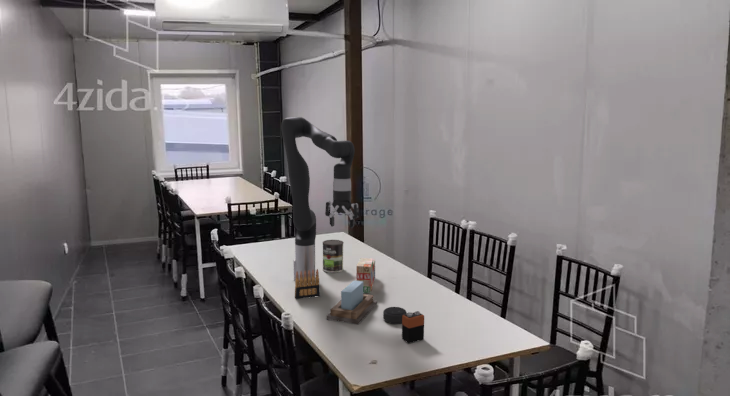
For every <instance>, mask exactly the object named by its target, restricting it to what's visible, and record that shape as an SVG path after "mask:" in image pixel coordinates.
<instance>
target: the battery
mask: <svg viewBox="0 0 730 396" xmlns="http://www.w3.org/2000/svg"><path fill="white" fill-rule="evenodd" d="M401 326H402V327H401V340H403V341H404V342H406V343H407V344H412V343H415V342H419V341H423V340H424V339H425V338H424V337H425V315H424V314H423V313H421V311H418V310H416V311H414V312H411V311H410V312H409V311H408V312H407V314H405V315H403V316H402V323H401Z"/></svg>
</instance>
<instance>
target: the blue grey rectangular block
mask: <svg viewBox="0 0 730 396" xmlns="http://www.w3.org/2000/svg"><path fill="white" fill-rule="evenodd" d="M363 294H364V293H363V281H357V280H352V282H350V283H349V284H348V285H347V286H345V288H344V289H341V291H340V295H341V296H340V297H341V298H340V300H341V309H347V310H354V309H355V308H356V307H357V306H358V305H359V304H360V303H361V302H362V301H363Z"/></svg>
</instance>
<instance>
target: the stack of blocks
mask: <svg viewBox="0 0 730 396" xmlns="http://www.w3.org/2000/svg"><path fill="white" fill-rule="evenodd" d="M355 274H356V281H363V294H370V293H371V292H372V290H373V285H374V283H375V280H376V259H375V258H370V257H369V258H365V257H360V258H359V260H358V262H357V264H356V273H355Z"/></svg>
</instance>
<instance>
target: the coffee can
mask: <svg viewBox="0 0 730 396" xmlns="http://www.w3.org/2000/svg"><path fill="white" fill-rule="evenodd" d="M322 271H323V272H325V273H340V272H343V271H344V241H343V240H339V239H326V240H323V241H322Z"/></svg>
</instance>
